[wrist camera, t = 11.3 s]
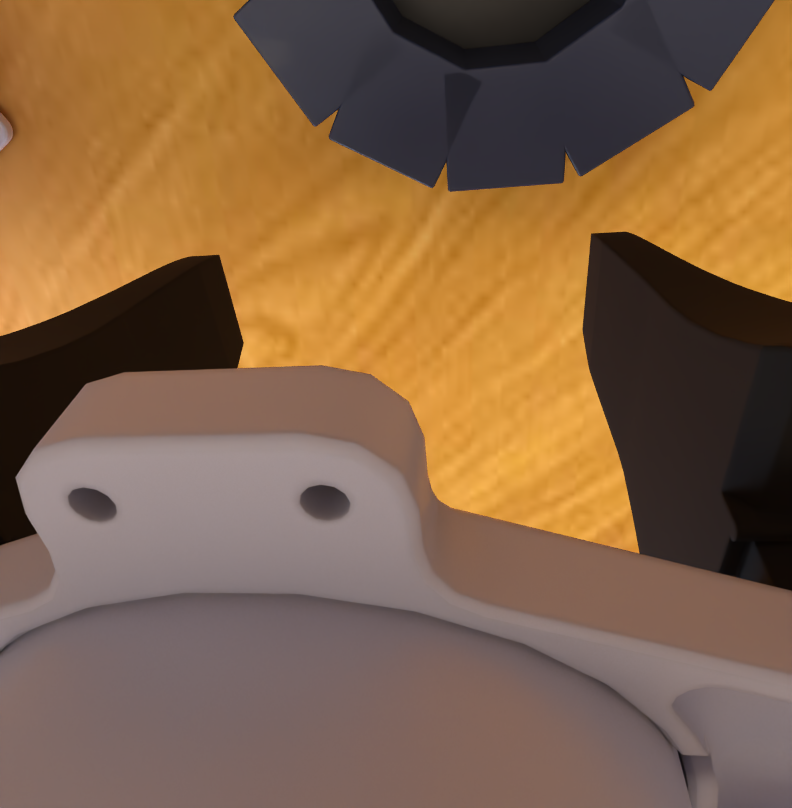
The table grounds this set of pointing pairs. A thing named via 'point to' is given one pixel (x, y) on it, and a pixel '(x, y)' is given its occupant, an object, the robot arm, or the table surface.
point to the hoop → (496, 82)
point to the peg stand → (488, 19)
